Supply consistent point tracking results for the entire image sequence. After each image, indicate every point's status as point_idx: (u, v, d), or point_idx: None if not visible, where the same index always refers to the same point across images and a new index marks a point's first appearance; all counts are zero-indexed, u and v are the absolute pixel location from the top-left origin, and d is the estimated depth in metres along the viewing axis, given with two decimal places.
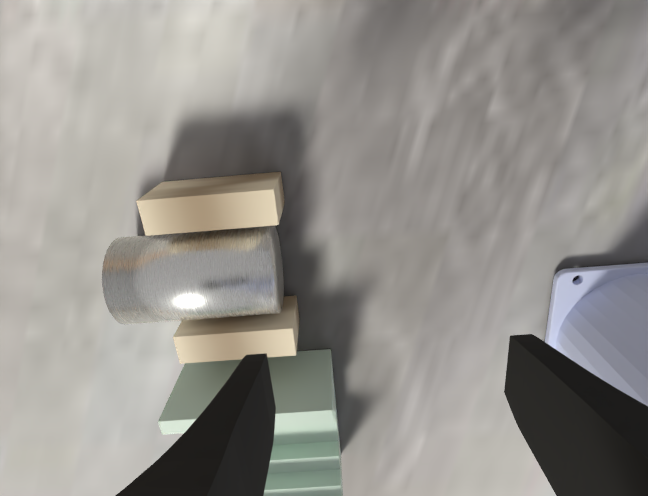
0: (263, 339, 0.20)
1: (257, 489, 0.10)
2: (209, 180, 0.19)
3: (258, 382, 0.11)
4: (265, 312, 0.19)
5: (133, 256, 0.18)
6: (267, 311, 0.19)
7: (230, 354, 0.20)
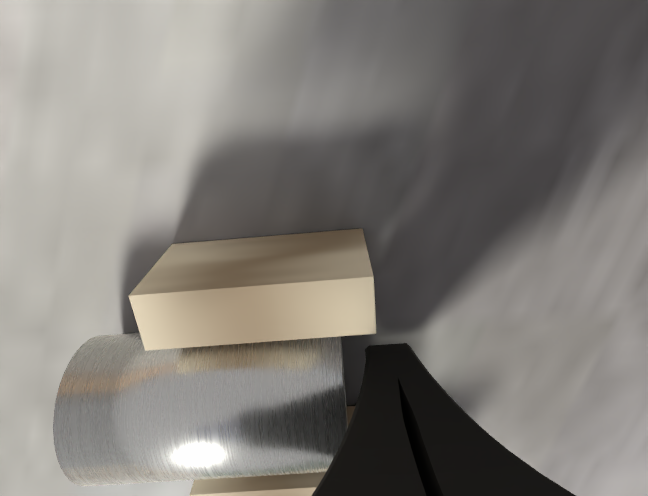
0: None
1: None
2: (249, 244, 0.12)
3: None
4: None
5: (107, 387, 0.10)
6: None
7: None
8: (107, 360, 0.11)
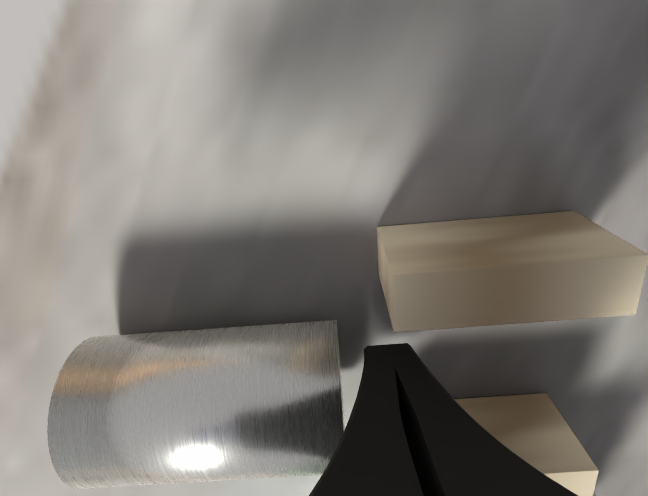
0: None
1: None
2: (465, 226, 0.12)
3: (395, 372, 0.11)
4: None
5: (102, 388, 0.10)
6: None
7: None
8: (102, 361, 0.11)
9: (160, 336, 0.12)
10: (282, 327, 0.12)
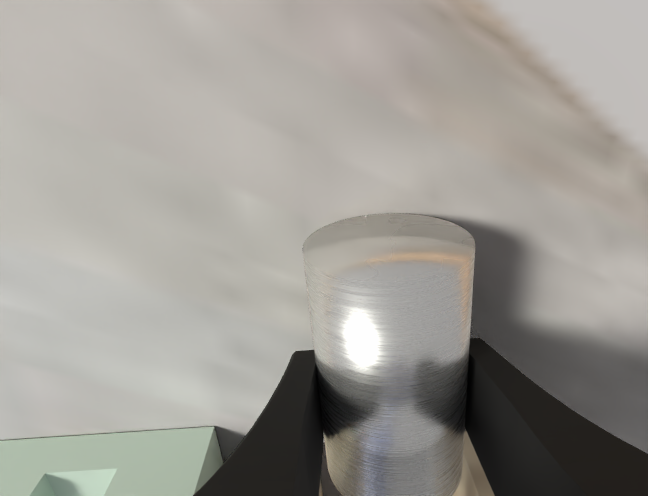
0: None
1: (315, 485, 0.10)
2: None
3: (314, 378, 0.11)
4: (350, 489, 0.11)
5: (468, 305, 0.10)
6: (354, 495, 0.11)
7: None
8: None
9: None
10: None
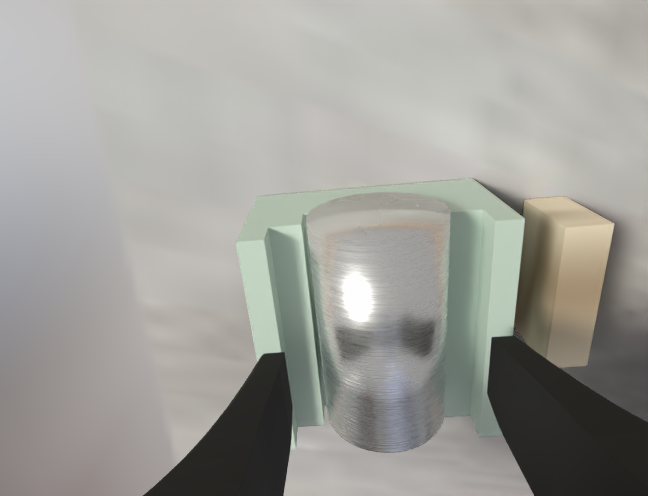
0: (579, 334, 0.15)
1: (278, 488, 0.10)
2: None
3: (278, 381, 0.11)
4: (346, 428, 0.13)
5: (444, 264, 0.11)
6: (350, 432, 0.13)
7: (564, 294, 0.14)
8: (449, 245, 0.12)
9: None
10: None
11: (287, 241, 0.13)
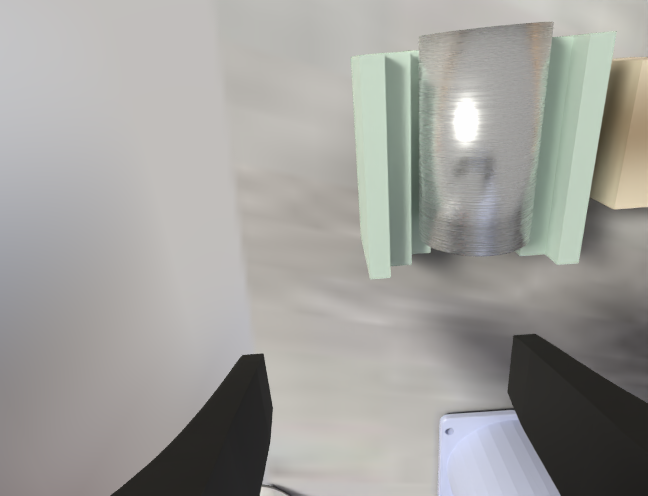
0: (647, 173, 0.17)
1: (253, 489, 0.10)
2: None
3: (254, 382, 0.11)
4: (447, 238, 0.15)
5: (547, 67, 0.13)
6: (450, 241, 0.15)
7: (636, 130, 0.16)
8: None
9: None
10: None
11: (396, 68, 0.15)
